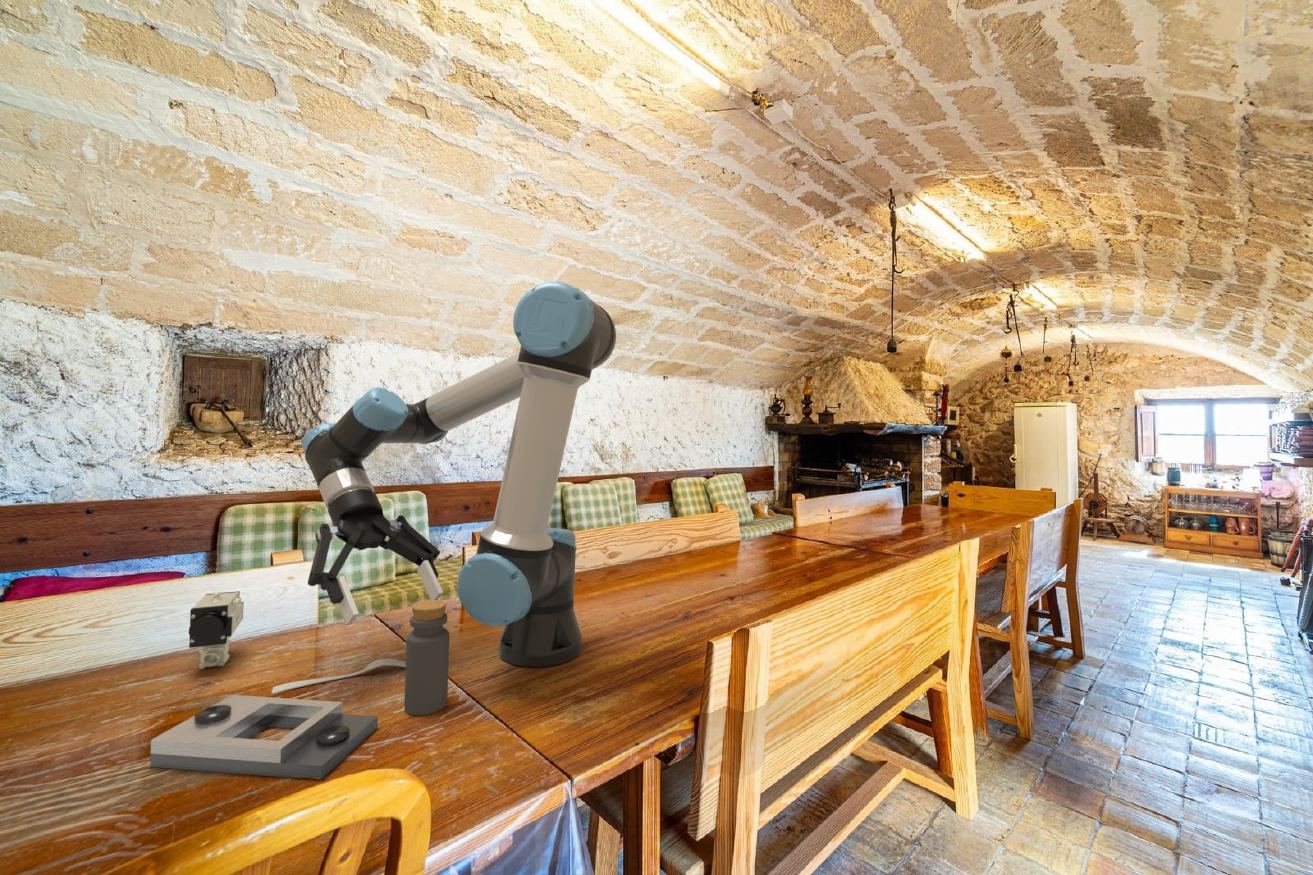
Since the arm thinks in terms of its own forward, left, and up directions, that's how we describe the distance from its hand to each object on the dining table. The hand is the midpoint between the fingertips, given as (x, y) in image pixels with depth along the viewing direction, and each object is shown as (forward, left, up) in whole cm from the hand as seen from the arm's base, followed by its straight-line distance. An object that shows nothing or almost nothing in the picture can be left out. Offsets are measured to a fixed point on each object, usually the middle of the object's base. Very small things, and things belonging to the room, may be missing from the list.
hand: (398, 608), depth 82 cm
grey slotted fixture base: (+8, +15, -13) cm, 21 cm away
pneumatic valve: (+35, -6, -13) cm, 37 cm away
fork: (+10, -4, -14) cm, 18 cm away
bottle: (-6, +3, -13) cm, 15 cm away
